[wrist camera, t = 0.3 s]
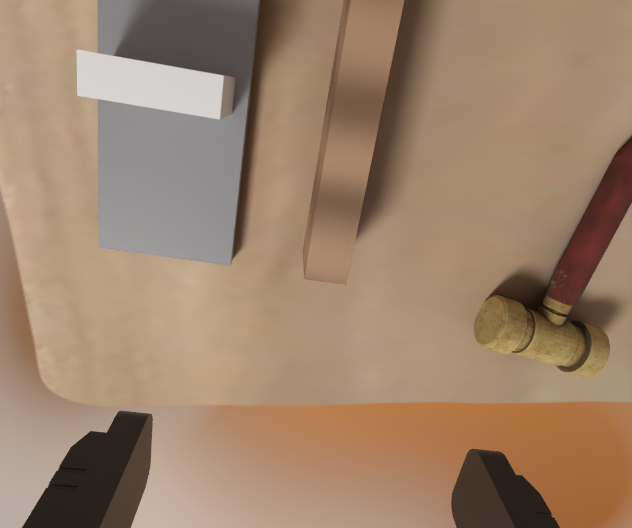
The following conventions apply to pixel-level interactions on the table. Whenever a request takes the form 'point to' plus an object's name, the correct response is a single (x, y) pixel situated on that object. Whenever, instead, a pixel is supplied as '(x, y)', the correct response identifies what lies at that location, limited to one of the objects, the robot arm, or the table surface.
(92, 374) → the table surface
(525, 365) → the table surface
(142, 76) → the fulcrum stand
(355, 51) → the walnut bar
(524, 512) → the robot arm
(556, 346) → the gavel
